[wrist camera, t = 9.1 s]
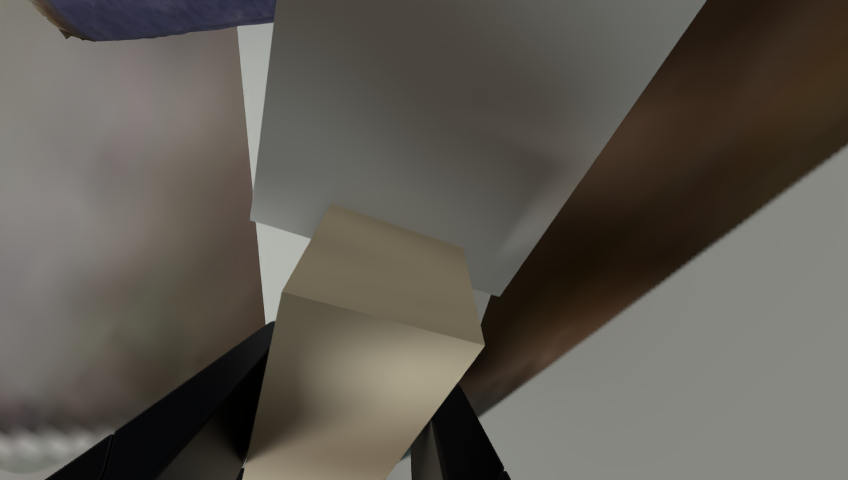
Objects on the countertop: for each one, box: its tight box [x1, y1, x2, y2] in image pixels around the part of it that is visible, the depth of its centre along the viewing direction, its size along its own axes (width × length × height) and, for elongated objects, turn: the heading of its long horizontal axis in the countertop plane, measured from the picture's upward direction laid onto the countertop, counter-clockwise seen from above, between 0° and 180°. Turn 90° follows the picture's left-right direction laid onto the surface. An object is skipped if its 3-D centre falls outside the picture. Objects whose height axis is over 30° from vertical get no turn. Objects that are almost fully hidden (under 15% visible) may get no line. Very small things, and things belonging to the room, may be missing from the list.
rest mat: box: [237, 23, 491, 325], centre depth 14 cm, size 20×12×1 cm, turn 170°
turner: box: [242, 0, 706, 480], centre depth 6 cm, size 14×6×4 cm, turn 158°
